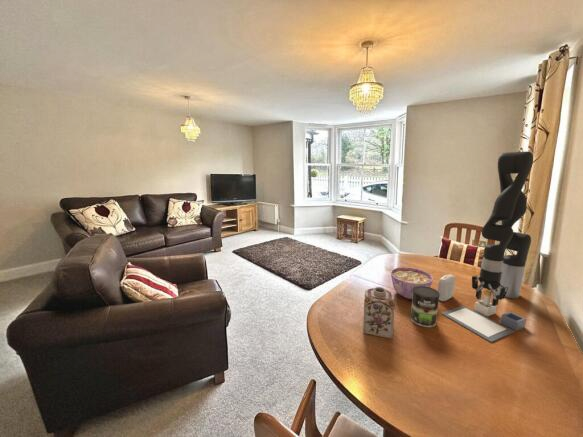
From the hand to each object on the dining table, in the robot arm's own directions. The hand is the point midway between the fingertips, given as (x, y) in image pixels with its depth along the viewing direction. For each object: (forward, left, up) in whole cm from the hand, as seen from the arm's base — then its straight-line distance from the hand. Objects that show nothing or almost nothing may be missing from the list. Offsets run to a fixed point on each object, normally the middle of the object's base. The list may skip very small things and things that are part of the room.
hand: (486, 301), depth 117 cm
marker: (0, 0, -4) cm, 4 cm away
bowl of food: (+19, -26, -5) cm, 32 cm away
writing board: (+12, +3, -5) cm, 13 cm away
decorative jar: (+53, -11, -5) cm, 54 cm away
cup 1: (0, 0, -5) cm, 5 cm away
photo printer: (+5, -16, -5) cm, 18 cm away
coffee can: (+31, -7, -5) cm, 32 cm away
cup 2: (0, +11, -5) cm, 12 cm away
